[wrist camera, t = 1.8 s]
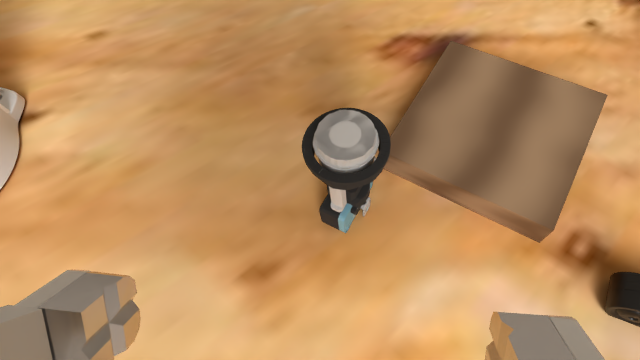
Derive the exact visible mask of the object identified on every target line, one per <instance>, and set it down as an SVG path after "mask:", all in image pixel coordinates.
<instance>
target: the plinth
mask: <svg viewBox="0 0 640 360" xmlns="http://www.w3.org/2000/svg"><path fill="white" fill-rule="evenodd" d="M606 97H607V95H606V94H603V93H600V92H597V91H594V90H592V89H589V88H586V87H583V86H580V85H577V84H574V83H571V82H569V81H566V80H563V79H560V78H557V77H554V76H551V75H548V74H546V73H543V72H540V71H537V70H534V69H531V68H528V67H525V66H522V65H520V64H517V63H514V62H511V61H508V60H505V59H502V58H499V57H497V56H494V55H491V54H488V53H485V52H482V51H479V50H476V49H474V48H471V47H468V46H465V45H462V44H459V43H456V42H453V41H450V43H449V45H448V46H447V48H446V49H445V51H444V53H443V54H442V56H441V57H440V59H439V60H438V62H437V64H436V65H435V67H434V68H433V70H432V72H431V73H430V75H429V76H428V78H427V80H426V81H425V83H424V84H423V86H422V87H421V89H420V91H419V92H418V94H417V95H416V97H415V99H414V100H413V102H412V103H411V105H410V107H409V108H408V110H407V111H406V113H405V115H404V116H403V118H402V119H401V121H400V122H399V124H398V126H397V127H396V129H395V130H394V132H393V134H392V135H391V137H390V141H391V148H390V155H389V158H388V161H387V163H386V165H385V166H384V168H383V169H385V170H387V171H389V172H391V173H393V174H396V175H398V176H400V177H402V178H404V179H406V180H408V181H410V182H412V183H415V184H417V185H419V186H421V187H423V188H425V189H427V190H429V191H431V192H434V193H436V194H438V195H440V196H442V197H444V198H446V199H448V200H450V201H453V202H455V203H457V204H459V205H461V206H463V207H465V208H467V209H469V210H472V211H474V212H476V213H478V214H480V215H482V216H484V217H486V218H488V219H491V220H493V221H495V222H497V223H499V224H501V225H503V226H505V227H507V228H510V229H512V230H514V231H516V232H518V233H520V234H522V235H524V236H526V237H529V238H531V239H533V240H535V241H537V242H539V243H540V242H541V241H542V240H543V239H544V238H545V237H547V236H548V235H549V234H550V233H551V232H552V231H553V230H554V228H555V225H556V223H557V220H558V218H559V215H560V213H561V210H562V208H563V205H564V203H565V200H566V198H567V195H568V193H569V190H570V188H571V185H572V183H573V180H574V178H575V175H576V173H577V170H578V168H579V165H580V163H581V160H582V158H583V155H584V153H585V150H586V148H587V145H588V143H589V140H590V138H591V135H592V133H593V130H594V128H595V125H596V123H597V120H598V118H599V115H600V112H601V110H602V107H603V105H604V102H605V100H606Z"/></svg>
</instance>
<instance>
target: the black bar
mask: <svg viewBox="0 0 640 360" xmlns="http://www.w3.org/2000/svg"><path fill="white" fill-rule="evenodd" d="M605 311H606V313H607V314H608V315H610V316H613V317H615V318H618V319H620V320H623V321H626V322H628V323H631V324H633V325H636V326H639V327H640V274H638V273H632V272H617V273H614V274H612V275H611V277H610V282H609V289H608V295H607V301H606V307H605Z"/></svg>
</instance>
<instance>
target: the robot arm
mask: <svg viewBox="0 0 640 360" xmlns="http://www.w3.org/2000/svg"><path fill="white" fill-rule="evenodd" d="M24 105H25V99H24V98H23V97H22V96H21V95H19V94H18V93H16V92H15V91H12V90H9V89H5V88H2V87H0V189H1V188H2V187H3V185H4V184H5V182H6V181H7V179H8V177H9V175H10V174H11V172H12V170H13V167H14V165H15V162H16V159H17V156H18V151H19V133H18V122H19V119H20V117H21V114H22V112H23V109H24ZM136 293H137V290H136V284H135V280H134V279H133V278H132V277H130V276H127V275H118V274H110V273H101V272H91V271H84V270H67V271H65V272H64V273H62V274H61V275H59V276H58V277H56V278H55V279H53V280H52V281H50V282H49V283H47V284H46V285H44V286H43V287H41V288H40V289H38V290H37V291H35V292H34V293H32V294H31V295H29V296H28V297H26V298H25V299H23V300H22V301H20V302H19V303H17V304H16V305H14V306H12V305H7V306H4V307H0V360H114V356H115V355H117V354H119V353H121V352H123V351H125V350H127V349H128V348H129V346H130V345H131V344H132V343H133V342H134V340H135V338H136V335H137V333H138V331H139V327H140V311H139V308H138V307H137V306H136V304H135V303H134V302H133V301H132V300H133V298H134V297H135V295H136ZM489 329H490V332H491V335H492V338H493V342H491V343H490V344H489V345H488V346H487V347H486V355H485V360H605V359H604V358H603V356H602V355H601V354H600V352H599V351H598V350H597V348H596V347H595V345H594V344H593V343H592V341H591V340H590V338H589V337H588V336H587V334H586V333H585V331H584V330H583V329H582V327H581V326H580V324H579V323H578V322H577V320H576V319H574V318H572V317H564V316H548V315H531V314H517V313H504V312H493V315H492V317H491V322H490V328H489Z"/></svg>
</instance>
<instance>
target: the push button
mask: <svg viewBox="0 0 640 360" xmlns="http://www.w3.org/2000/svg"><path fill="white" fill-rule="evenodd" d="M390 148H391V141H390V136H389V133H388V130H387V129H386V127H385V125H384V124H383V123H382V122H381V121H380V120H379V119H378V118H377V117H375V116H374V115H372V114H371V113H368V112H366V111H363V110H360V109H355V108H340V109H335V110H332V111H329V112H326V113H324V114H322V115H321V116H319V117H318V118H316V119H315V120H314V121H313V122H312V123H311V124H310V126H309V127H308V128H307V130H306V132H305V134H304V137H303V141H302V152H303V157H304V160H305V162H306V165H307V166H308V168H309V169H310V170H311V172H312V173H313V174H314V175H315V176H316V177H317V178H319V179H320V180H321V181H323V182H324V183H325V184H327V190H328V195H327V197H326V198H325V200H324V202H323V203H322V205H321V207H320V209H319V211H320V215H321V219H322V222H324V223H326V224H328V225H330V226H332V227H334V228H336V229H338V230H341V231H343V232H345V233H346V232H347V231H348V229H349V227H350V225H351V223H352V221H353V219H354V218H355V216H356V215H357V213H358V211H359V210H360V208H361V209H362V210H363V216H365V214H366V212H367V211H368V209H369V207H370V198H369V197H368V196H369V193H370V189H371V187H372V184H373V181H374V180H375V179H376V178H377V176H378V175H379V174H380V173H381V172H382V169H383V168H384V166H385V165H386V163H387V161H388V158H389V155H390ZM377 149H379V155H378V157H377V158H375V154H376V151H377ZM315 153H316V155H317V157H318V158H319V162H320V164H319V163H318V162H317V161H316V159H315V157H314V154H315Z"/></svg>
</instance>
